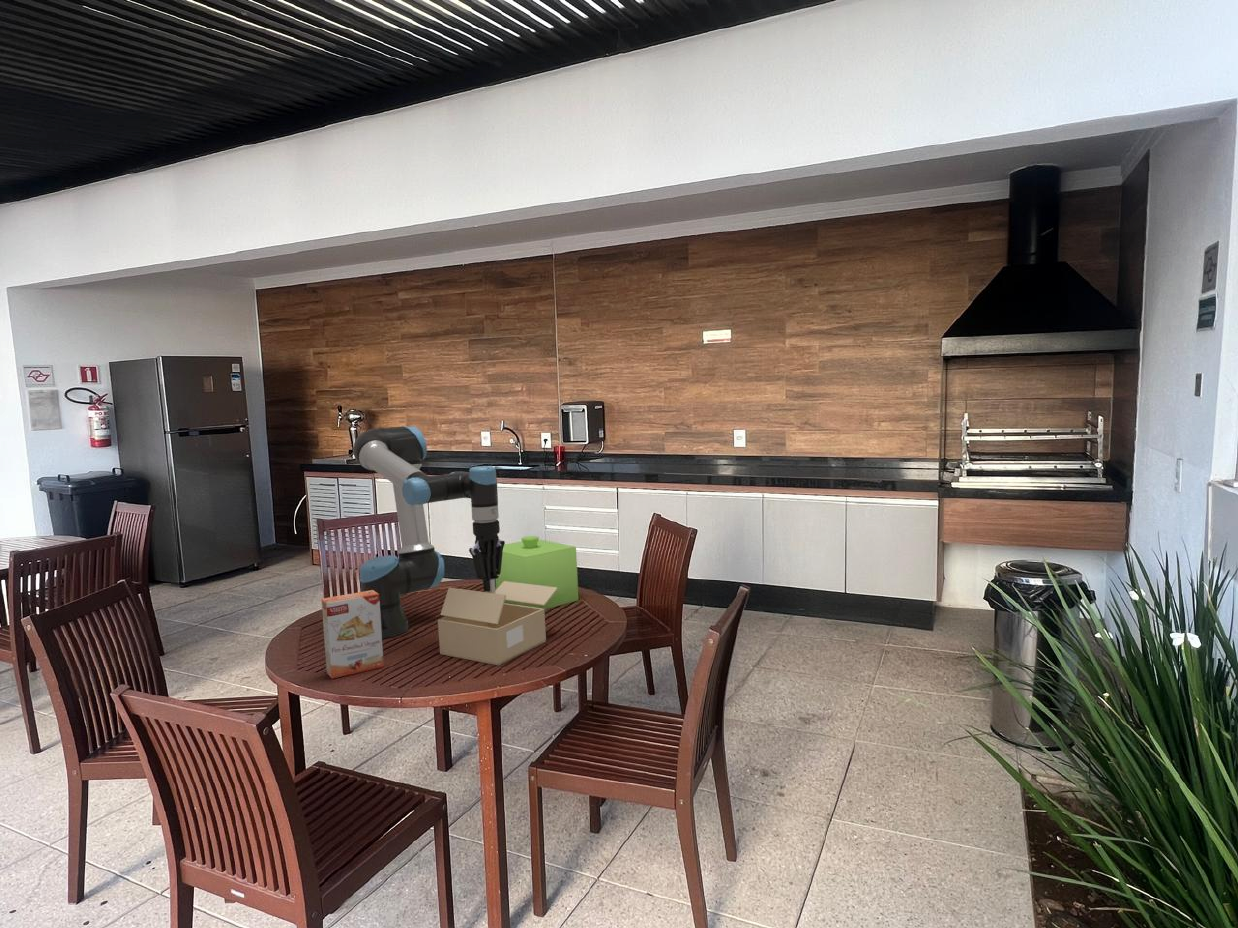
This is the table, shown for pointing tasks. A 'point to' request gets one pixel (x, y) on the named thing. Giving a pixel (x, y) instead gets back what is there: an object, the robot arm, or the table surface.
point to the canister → (541, 568)
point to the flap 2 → (526, 593)
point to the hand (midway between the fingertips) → (490, 601)
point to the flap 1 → (473, 605)
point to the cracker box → (352, 633)
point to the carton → (493, 635)
